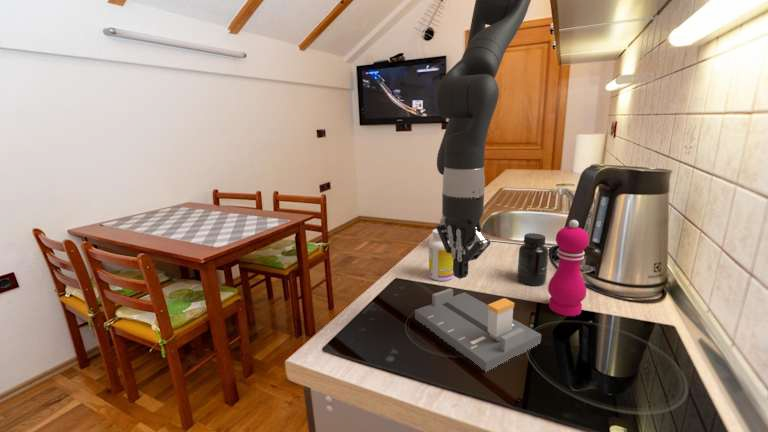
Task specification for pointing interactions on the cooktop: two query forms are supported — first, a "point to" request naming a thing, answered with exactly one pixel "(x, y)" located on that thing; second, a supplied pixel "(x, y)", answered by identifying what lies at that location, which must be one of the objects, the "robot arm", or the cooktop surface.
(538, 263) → the supplement bottle
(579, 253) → the pepper mill
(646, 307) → the cooktop surface
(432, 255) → the supplement bottle
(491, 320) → the fader knob
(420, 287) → the cooktop surface
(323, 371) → the cooktop surface
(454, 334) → the fader console
